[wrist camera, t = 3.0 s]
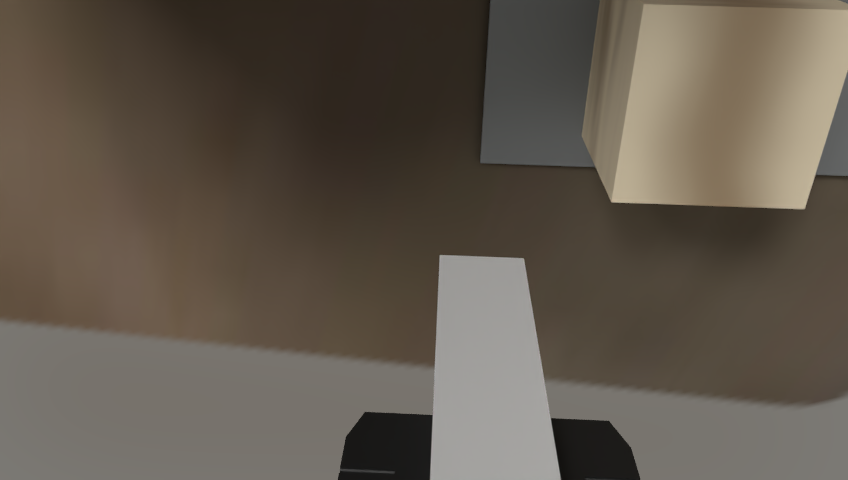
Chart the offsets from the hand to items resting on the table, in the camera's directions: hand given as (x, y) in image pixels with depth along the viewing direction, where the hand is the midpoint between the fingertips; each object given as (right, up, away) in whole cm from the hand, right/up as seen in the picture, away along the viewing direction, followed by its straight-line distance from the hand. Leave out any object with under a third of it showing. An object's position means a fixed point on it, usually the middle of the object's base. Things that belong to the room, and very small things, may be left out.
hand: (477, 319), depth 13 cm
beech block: (+10, +9, +17) cm, 22 cm away
